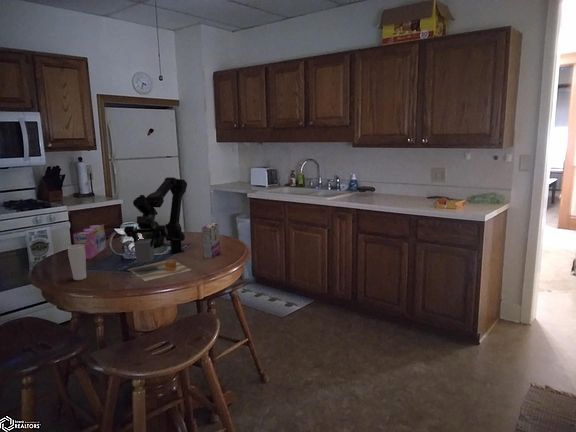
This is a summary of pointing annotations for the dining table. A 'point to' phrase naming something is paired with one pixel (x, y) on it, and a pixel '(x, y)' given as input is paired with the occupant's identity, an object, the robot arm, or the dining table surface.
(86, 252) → the gum box
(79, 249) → the drinking glass
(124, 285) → the dining table surface
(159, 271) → the birch board
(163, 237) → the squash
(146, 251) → the charcoal cover
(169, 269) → the orange block
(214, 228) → the candy bar box
